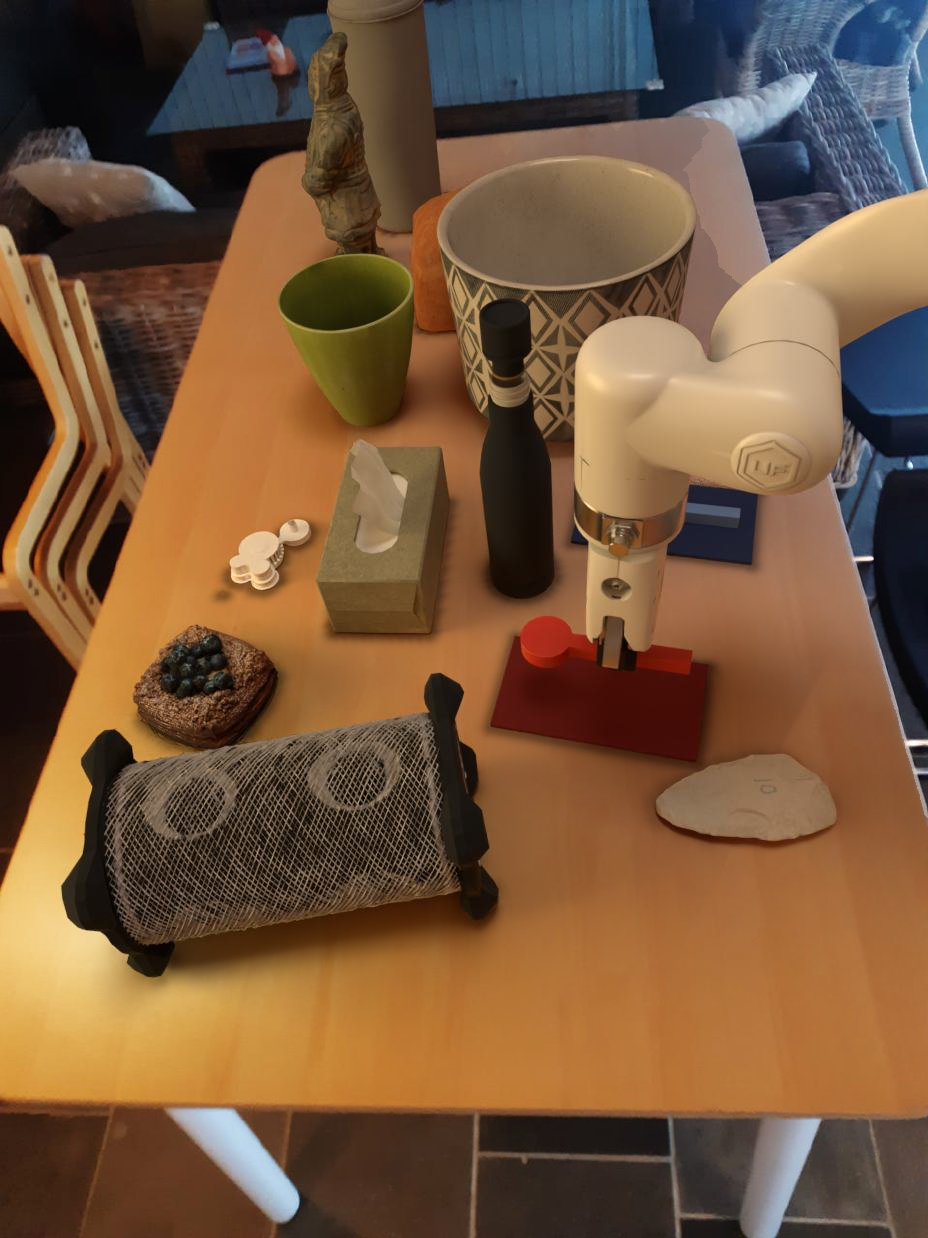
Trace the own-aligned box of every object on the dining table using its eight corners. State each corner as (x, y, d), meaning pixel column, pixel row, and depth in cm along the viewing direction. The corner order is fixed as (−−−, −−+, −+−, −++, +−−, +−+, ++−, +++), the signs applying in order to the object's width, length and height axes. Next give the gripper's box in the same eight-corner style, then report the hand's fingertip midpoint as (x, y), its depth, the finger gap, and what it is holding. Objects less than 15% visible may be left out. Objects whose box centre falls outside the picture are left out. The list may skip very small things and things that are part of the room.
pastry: (226, 765, 79) (205, 732, 74) (126, 720, 83) (99, 685, 78) (294, 672, 84) (277, 635, 80) (196, 633, 89) (175, 597, 84)
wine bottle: (485, 594, 88) (452, 335, 64) (498, 547, 92) (471, 286, 68) (548, 601, 87) (539, 339, 63) (559, 553, 90) (554, 289, 67)
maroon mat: (707, 666, 80) (708, 664, 80) (696, 762, 74) (697, 760, 74) (515, 637, 84) (514, 635, 84) (490, 726, 79) (490, 724, 78)
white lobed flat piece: (303, 589, 91) (298, 575, 89) (222, 594, 92) (215, 581, 90) (312, 523, 97) (307, 509, 95) (236, 529, 97) (230, 515, 96)
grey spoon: (739, 508, 91) (741, 497, 90) (736, 539, 89) (738, 528, 87) (602, 493, 94) (603, 482, 93) (595, 523, 92) (596, 512, 91)
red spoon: (692, 646, 74) (694, 635, 73) (687, 690, 71) (689, 679, 70) (527, 623, 77) (526, 612, 76) (516, 664, 75) (515, 653, 73)
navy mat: (757, 494, 93) (758, 491, 92) (751, 564, 87) (751, 562, 87) (587, 476, 97) (587, 473, 97) (570, 542, 91) (570, 540, 91)
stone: (842, 839, 69) (849, 828, 68) (666, 860, 70) (668, 849, 68) (810, 751, 74) (815, 739, 72) (646, 771, 74) (647, 759, 73)
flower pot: (455, 390, 108) (440, 271, 96) (384, 464, 101) (357, 345, 89) (360, 358, 114) (334, 241, 102) (287, 425, 107) (249, 309, 95)
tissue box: (364, 499, 98) (333, 383, 86) (450, 499, 97) (432, 381, 84) (333, 635, 87) (292, 523, 74) (430, 637, 85) (406, 523, 73)
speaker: (154, 811, 77) (77, 722, 65) (476, 755, 77) (458, 656, 65) (138, 989, 67) (45, 922, 56) (504, 925, 68) (489, 845, 56)
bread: (667, 308, 114) (678, 189, 102) (417, 339, 116) (398, 225, 103) (646, 252, 123) (654, 136, 111) (414, 281, 124) (396, 170, 112)
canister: (445, 235, 131) (410, -48, 104) (362, 240, 133) (306, -38, 105) (452, 192, 139) (421, -82, 111) (373, 197, 140) (324, -71, 113)
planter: (630, 491, 95) (642, 310, 78) (420, 434, 104) (390, 261, 87) (706, 351, 108) (731, 171, 91) (514, 312, 117) (504, 141, 100)
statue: (332, 252, 131) (279, 23, 108) (394, 250, 130) (354, 17, 106) (317, 295, 125) (258, 60, 101) (382, 293, 123) (337, 54, 100)
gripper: (673, 594, 54) (651, 743, 69) (698, 428, 63) (674, 591, 77) (552, 578, 56) (555, 727, 70) (593, 418, 65) (589, 580, 79)
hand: (618, 655), depth 74 cm, fingers closed on red spoon, 1 cm apart
